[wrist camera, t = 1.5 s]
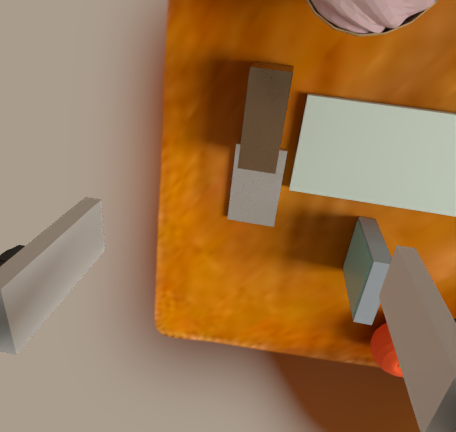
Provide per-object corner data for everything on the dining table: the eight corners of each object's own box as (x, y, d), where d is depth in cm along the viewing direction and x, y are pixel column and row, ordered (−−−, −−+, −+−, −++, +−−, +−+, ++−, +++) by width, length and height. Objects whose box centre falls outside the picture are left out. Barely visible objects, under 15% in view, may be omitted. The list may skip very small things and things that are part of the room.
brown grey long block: (246, 60, 40) (239, 65, 35) (302, 67, 40) (303, 73, 34) (228, 216, 49) (220, 239, 44) (274, 223, 48) (271, 248, 43)
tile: (357, 216, 46) (372, 261, 37) (375, 219, 46) (394, 265, 37) (341, 269, 50) (351, 321, 41) (358, 272, 50) (371, 325, 41)
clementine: (379, 299, 51) (390, 337, 45) (430, 311, 50) (449, 352, 44) (359, 341, 55) (367, 382, 48) (407, 352, 54) (421, 395, 48)
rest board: (307, 93, 41) (307, 95, 39) (522, 121, 38) (528, 124, 37) (289, 186, 46) (289, 190, 45) (478, 216, 44) (482, 220, 42)
